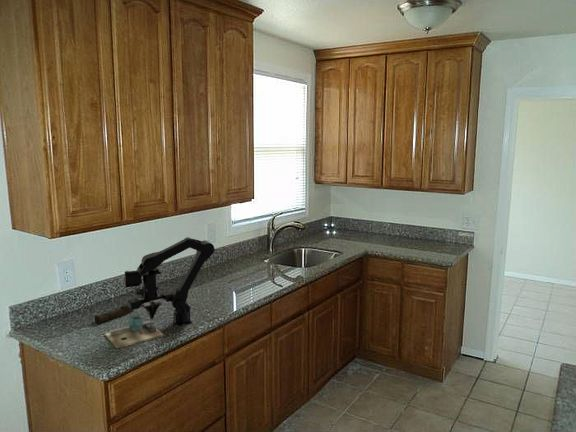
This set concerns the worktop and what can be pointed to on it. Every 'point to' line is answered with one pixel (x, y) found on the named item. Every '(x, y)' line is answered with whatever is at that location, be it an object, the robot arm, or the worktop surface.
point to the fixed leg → (150, 327)
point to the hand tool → (113, 314)
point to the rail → (125, 329)
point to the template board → (133, 337)
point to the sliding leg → (136, 323)
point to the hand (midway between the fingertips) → (151, 319)
